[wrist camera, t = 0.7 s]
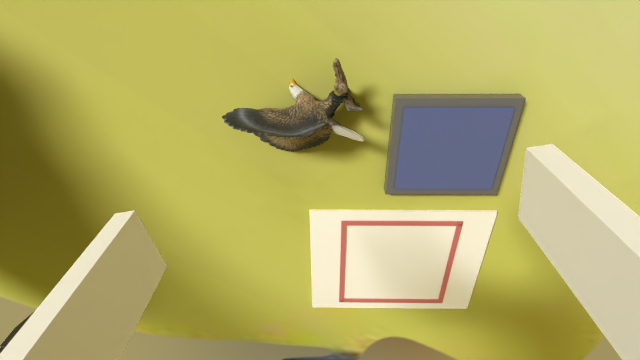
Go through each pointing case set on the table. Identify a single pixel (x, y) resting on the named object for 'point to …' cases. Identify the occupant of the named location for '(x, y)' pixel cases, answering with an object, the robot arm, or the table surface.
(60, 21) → the table surface
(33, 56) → the table surface
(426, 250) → the print sheet
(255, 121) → the eagle figurine
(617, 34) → the table surface
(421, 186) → the ink pad
